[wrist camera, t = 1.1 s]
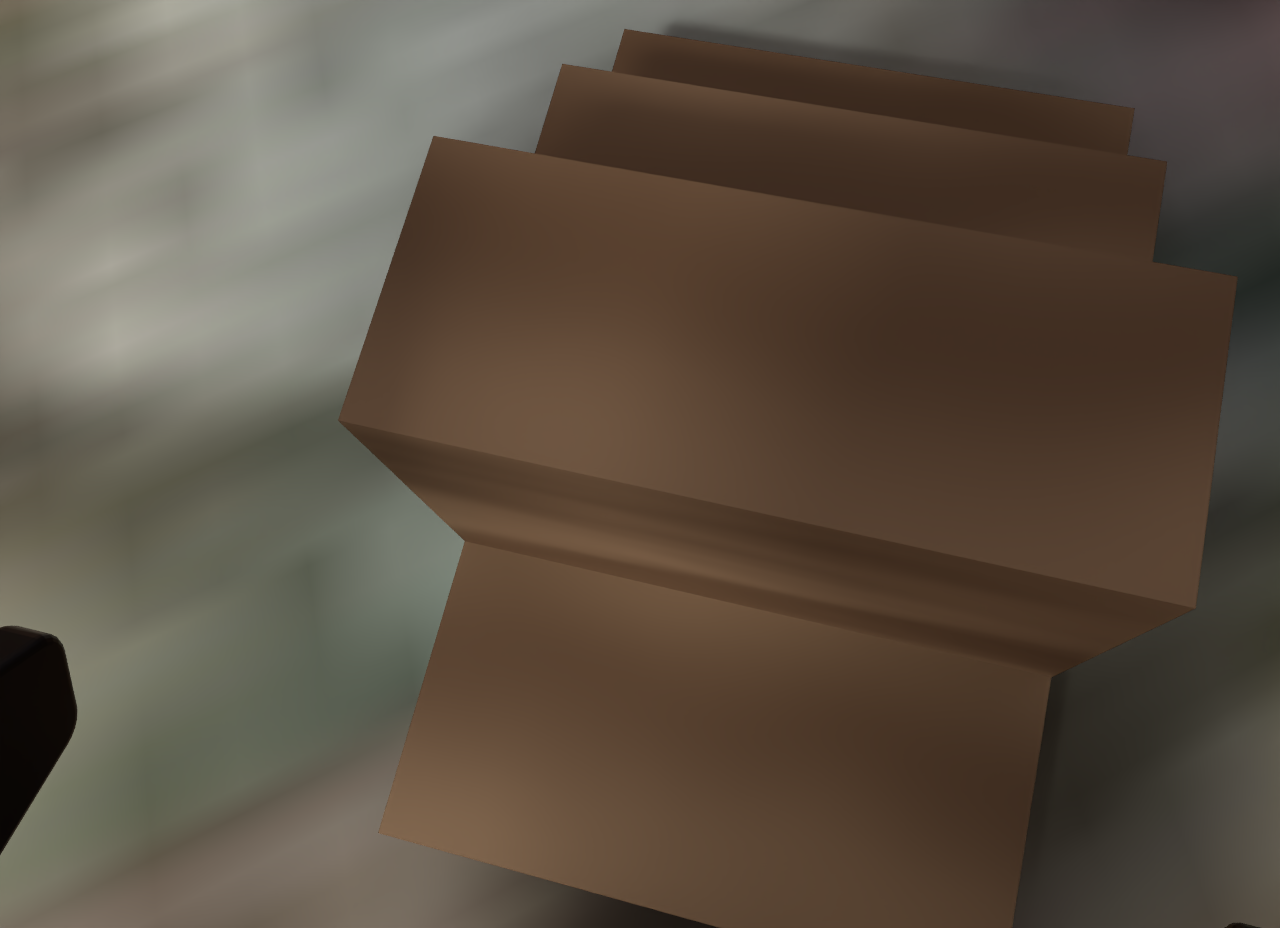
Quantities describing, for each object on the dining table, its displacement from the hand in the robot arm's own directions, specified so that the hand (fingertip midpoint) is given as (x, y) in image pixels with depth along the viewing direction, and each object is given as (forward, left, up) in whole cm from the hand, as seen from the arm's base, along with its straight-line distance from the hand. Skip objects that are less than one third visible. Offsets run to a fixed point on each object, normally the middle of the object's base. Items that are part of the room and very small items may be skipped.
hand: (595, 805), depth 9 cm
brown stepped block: (+6, -2, -13) cm, 14 cm away
